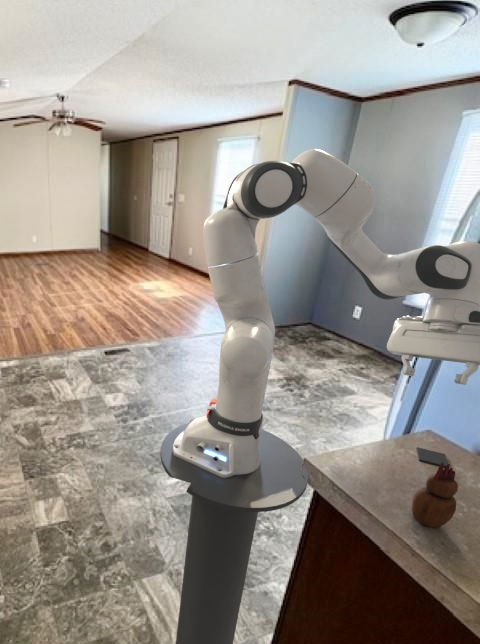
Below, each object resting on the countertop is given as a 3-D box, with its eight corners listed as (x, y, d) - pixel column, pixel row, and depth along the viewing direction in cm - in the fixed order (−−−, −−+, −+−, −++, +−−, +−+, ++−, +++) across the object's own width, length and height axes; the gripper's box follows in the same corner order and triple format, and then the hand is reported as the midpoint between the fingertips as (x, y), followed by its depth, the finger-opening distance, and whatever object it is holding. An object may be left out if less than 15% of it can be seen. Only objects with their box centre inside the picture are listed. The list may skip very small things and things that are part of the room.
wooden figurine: (412, 527, 86) (437, 467, 80) (402, 507, 91) (425, 450, 85) (451, 535, 84) (480, 475, 78) (439, 514, 89) (465, 456, 83)
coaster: (418, 460, 106) (419, 459, 106) (416, 448, 111) (416, 447, 111) (448, 468, 103) (449, 466, 103) (444, 455, 108) (445, 453, 108)
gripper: (390, 311, 98) (374, 368, 98) (507, 316, 81) (488, 385, 81) (402, 319, 102) (387, 374, 102) (517, 325, 84) (499, 392, 84)
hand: (432, 379), depth 91 cm, fingers open, 8 cm apart
